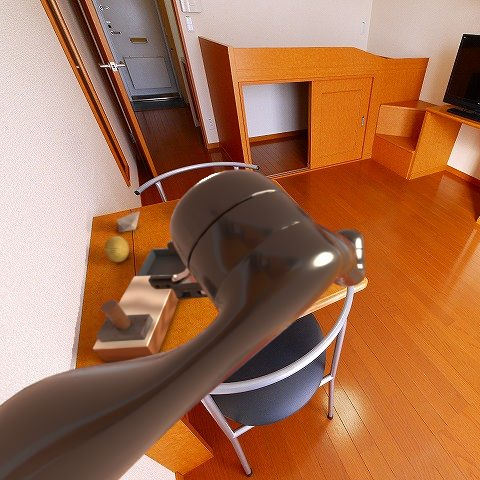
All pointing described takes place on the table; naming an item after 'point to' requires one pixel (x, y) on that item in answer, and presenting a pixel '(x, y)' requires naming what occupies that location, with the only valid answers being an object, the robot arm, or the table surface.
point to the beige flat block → (134, 303)
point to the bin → (162, 263)
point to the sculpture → (117, 249)
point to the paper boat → (128, 222)
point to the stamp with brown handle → (122, 324)
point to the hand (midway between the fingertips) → (160, 263)
